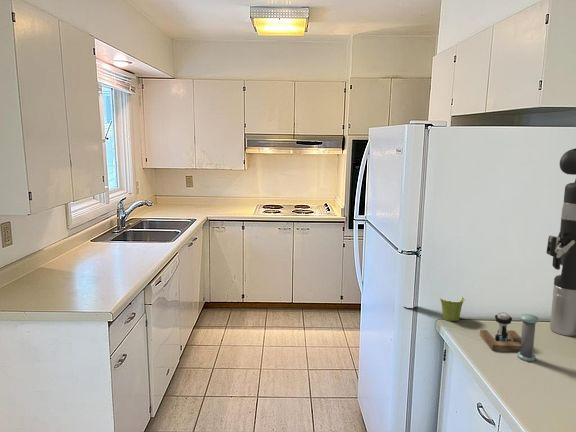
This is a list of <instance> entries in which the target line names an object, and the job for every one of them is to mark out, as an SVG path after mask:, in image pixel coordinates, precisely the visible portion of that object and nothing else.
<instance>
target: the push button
mask: <svg viewBox="0 0 576 432" xmlns="http://www.w3.org/2000/svg"><path fill="white" fill-rule="evenodd" d="M494 318H495V322H496V323H498V330H497V334H495V337H494V339H495V340H496V341H506V342H509V341H508V340H509V337H508V334H507V327H508V325H510V324H511V323H512V320H513V317H512V316H510V314H509V313H507V312H498V313H497V314H496V315H495V316H494Z"/></svg>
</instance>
